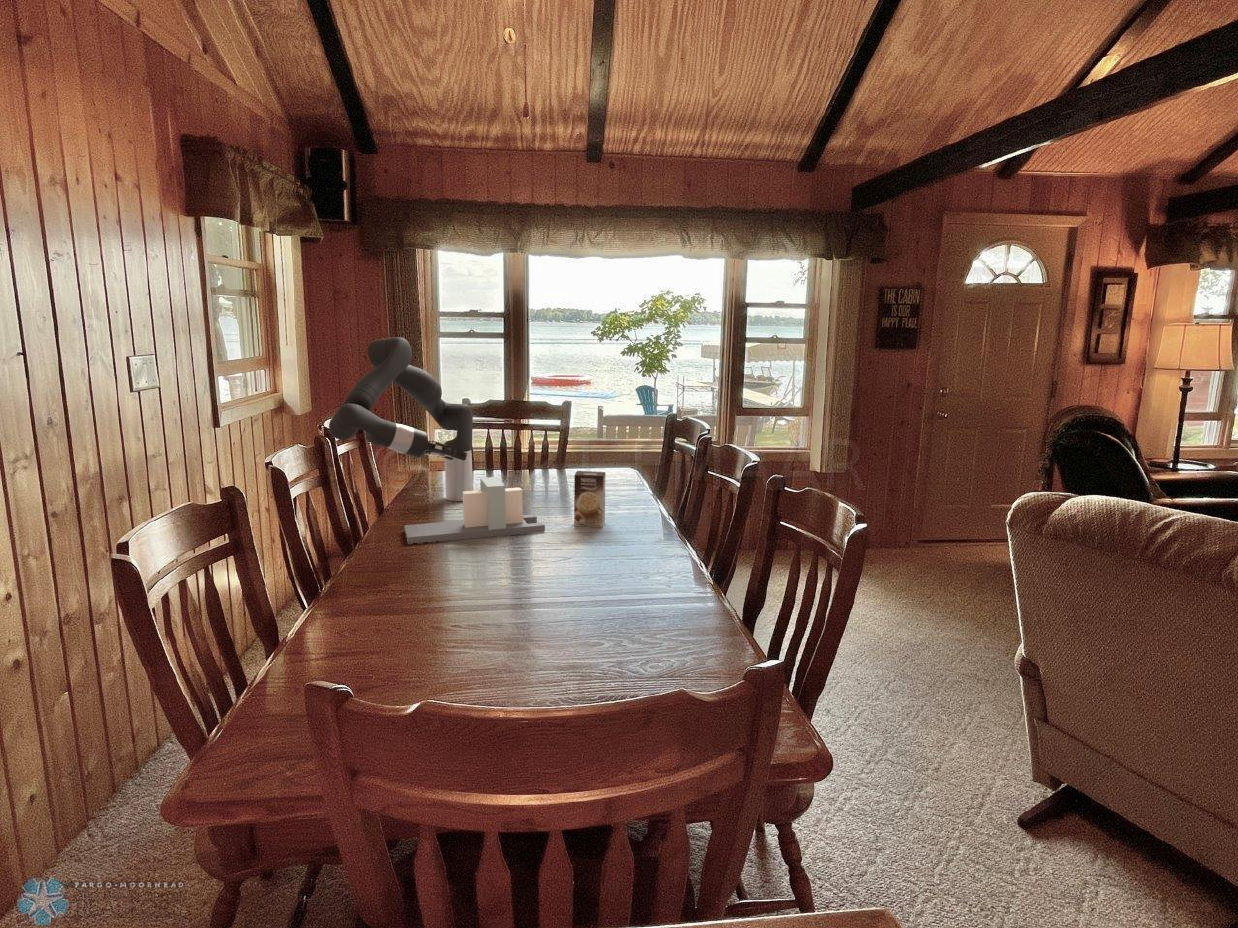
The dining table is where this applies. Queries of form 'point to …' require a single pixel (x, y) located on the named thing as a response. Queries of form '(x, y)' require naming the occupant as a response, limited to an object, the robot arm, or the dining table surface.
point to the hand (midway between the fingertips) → (459, 456)
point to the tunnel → (495, 502)
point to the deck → (467, 530)
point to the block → (478, 507)
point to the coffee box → (589, 499)
